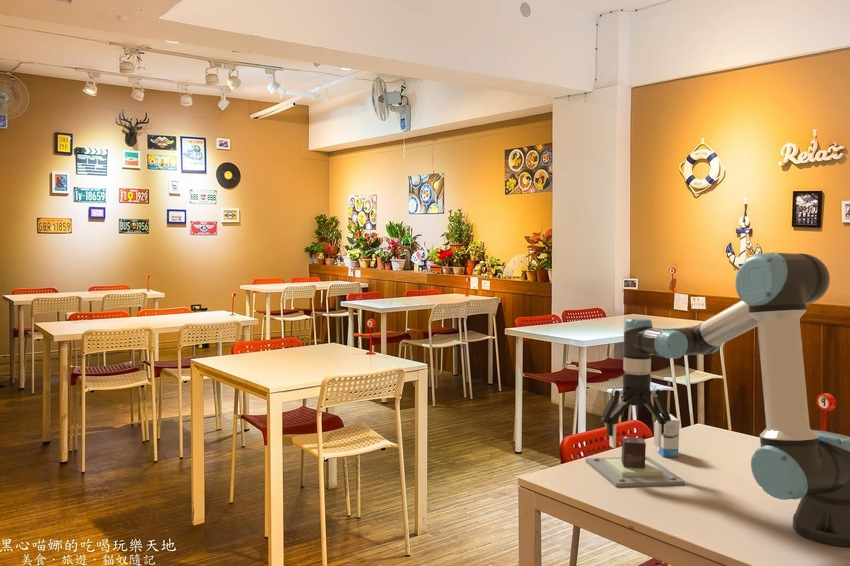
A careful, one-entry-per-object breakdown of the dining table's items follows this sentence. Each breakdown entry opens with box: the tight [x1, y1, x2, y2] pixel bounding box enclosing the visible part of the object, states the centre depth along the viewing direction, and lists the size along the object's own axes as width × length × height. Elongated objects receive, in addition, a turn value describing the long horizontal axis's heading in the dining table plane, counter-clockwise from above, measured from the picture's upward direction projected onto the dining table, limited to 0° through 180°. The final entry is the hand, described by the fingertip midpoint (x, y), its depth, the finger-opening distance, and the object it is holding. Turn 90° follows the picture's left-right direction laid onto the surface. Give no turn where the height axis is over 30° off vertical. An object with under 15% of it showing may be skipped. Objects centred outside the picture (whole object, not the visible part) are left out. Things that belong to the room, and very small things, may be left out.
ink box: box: [654, 413, 680, 458], centre depth 222 cm, size 8×5×12 cm, turn 179°
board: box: [584, 456, 686, 488], centre depth 203 cm, size 22×20×2 cm
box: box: [621, 436, 647, 468], centre depth 203 cm, size 6×6×7 cm
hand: (635, 446), depth 202 cm, fingers open, 13 cm apart
